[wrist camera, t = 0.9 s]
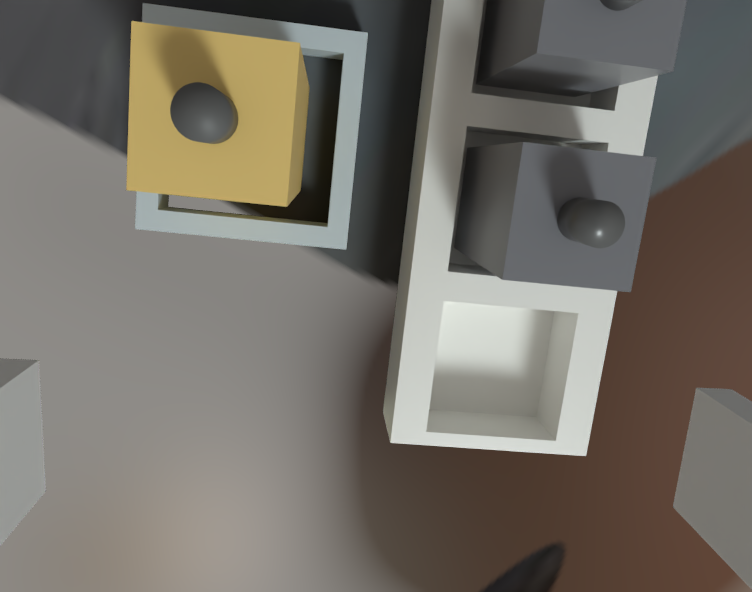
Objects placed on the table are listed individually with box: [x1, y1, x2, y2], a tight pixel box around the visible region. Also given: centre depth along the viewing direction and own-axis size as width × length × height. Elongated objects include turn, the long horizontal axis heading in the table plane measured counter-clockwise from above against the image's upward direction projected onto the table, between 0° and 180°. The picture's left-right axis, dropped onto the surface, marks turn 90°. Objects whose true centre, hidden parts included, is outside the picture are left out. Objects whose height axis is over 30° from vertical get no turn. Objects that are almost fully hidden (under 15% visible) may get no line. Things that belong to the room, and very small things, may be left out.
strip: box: [383, 0, 687, 456], centre depth 27 cm, size 24×10×12 cm, turn 174°
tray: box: [135, 3, 368, 250], centre depth 30 cm, size 10×10×2 cm
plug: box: [126, 21, 309, 207], centre depth 24 cm, size 5×5×14 cm
